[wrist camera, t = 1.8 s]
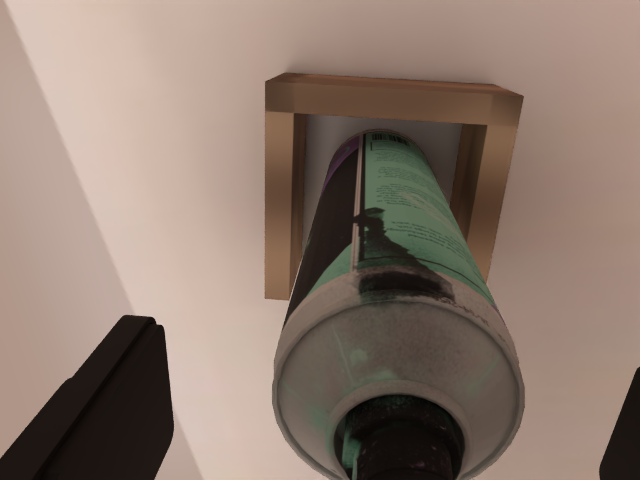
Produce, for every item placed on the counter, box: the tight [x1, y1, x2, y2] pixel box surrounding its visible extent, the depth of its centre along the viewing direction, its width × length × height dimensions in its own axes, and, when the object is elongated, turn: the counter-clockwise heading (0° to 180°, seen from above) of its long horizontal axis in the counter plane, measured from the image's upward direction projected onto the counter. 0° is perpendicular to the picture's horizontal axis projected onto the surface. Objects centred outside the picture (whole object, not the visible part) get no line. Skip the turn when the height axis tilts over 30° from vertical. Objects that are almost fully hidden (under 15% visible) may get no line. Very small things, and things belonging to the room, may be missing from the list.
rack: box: [265, 73, 524, 301], centre depth 24 cm, size 10×10×5 cm
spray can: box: [272, 129, 525, 480], centre depth 17 cm, size 6×6×20 cm
